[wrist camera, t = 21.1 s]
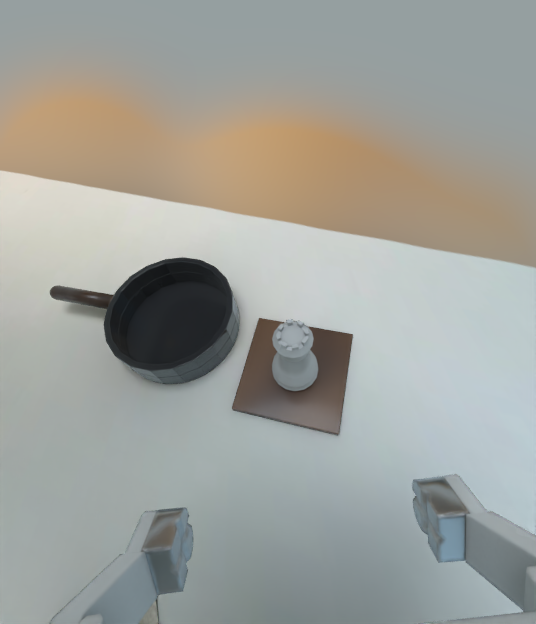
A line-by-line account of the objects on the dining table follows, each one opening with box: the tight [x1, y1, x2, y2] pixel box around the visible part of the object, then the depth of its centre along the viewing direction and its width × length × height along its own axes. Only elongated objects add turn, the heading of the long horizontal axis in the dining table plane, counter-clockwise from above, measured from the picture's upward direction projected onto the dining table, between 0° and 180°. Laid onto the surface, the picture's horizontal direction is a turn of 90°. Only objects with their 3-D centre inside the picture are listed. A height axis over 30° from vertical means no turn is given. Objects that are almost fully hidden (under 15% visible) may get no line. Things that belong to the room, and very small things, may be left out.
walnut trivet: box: [232, 318, 353, 435], centre depth 32 cm, size 10×10×1 cm
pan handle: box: [50, 286, 114, 309], centre depth 36 cm, size 9×2×2 cm, turn 76°
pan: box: [104, 258, 239, 384], centre depth 35 cm, size 13×13×4 cm
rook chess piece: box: [272, 319, 318, 391], centre depth 29 cm, size 4×4×8 cm
